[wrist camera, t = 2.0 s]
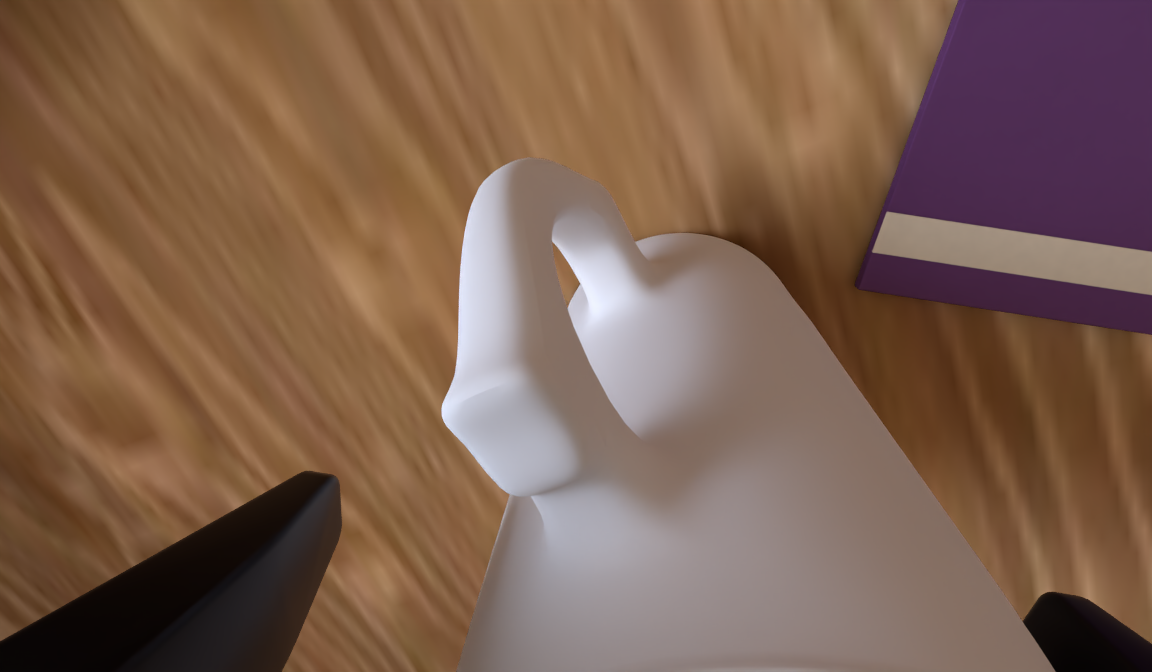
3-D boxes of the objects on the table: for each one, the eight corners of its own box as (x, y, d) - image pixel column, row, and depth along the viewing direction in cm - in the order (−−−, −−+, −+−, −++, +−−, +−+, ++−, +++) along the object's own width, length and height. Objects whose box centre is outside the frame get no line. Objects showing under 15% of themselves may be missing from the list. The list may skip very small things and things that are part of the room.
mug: (838, 394, 17) (1213, 1034, 6) (619, 473, 18) (602, 1071, 8) (696, 35, 13) (988, 4, 2) (442, 176, 15) (-43, 519, 4)
